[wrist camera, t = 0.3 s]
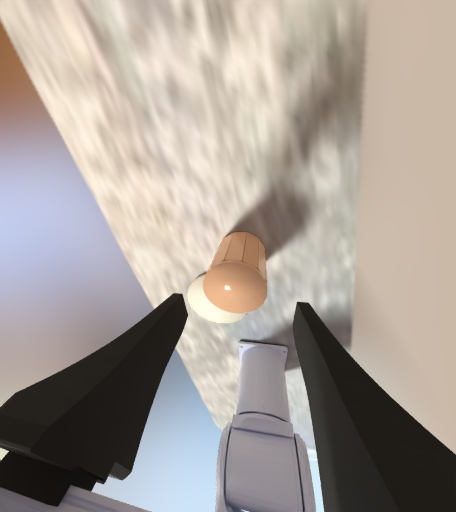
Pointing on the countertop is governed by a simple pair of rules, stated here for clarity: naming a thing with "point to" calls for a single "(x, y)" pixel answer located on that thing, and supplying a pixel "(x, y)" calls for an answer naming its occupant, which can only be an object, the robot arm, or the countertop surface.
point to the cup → (237, 274)
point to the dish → (208, 304)
